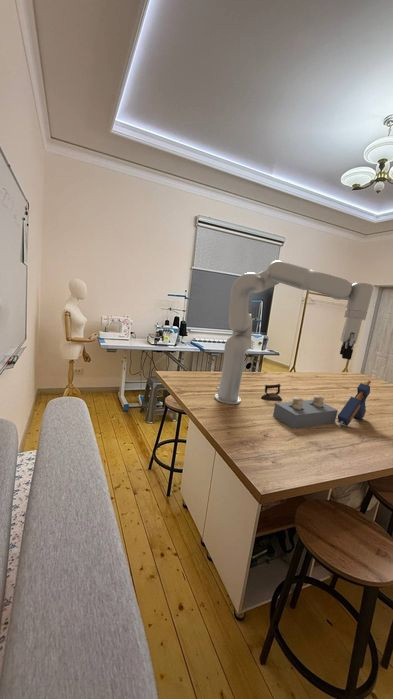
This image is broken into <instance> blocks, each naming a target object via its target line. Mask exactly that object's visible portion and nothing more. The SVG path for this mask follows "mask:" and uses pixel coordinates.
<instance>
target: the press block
mask: <svg viewBox="0 0 393 699" xmlns="http://www.w3.org/2000/svg"><path fill="white" fill-rule="evenodd" d="M312 401H313V399H310V400H309V399H307V400H306V399H305V400H304V402H303V406H302V410H298V411H296V410H295V409H293V408H291V405H292V401H284V402H276V403H275V404H274V409H273V413H272V417H274V418H276V419H277V420H279V421H280V422H281V423H283V424H285V425H286V426H288V427H290V428H291V429H293V430H295V429H300V428H308V427H313V426H321V425H327V424H333V423H336V418H337V416H338V411H339V410H338V409H337V408H334V407H332V406H330V405H329V404H327V403H324V402H323V406H322V408H316V407H314V406H312Z"/></svg>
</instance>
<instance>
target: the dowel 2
mask: <svg viewBox="0 0 393 699" xmlns="http://www.w3.org/2000/svg"><path fill="white" fill-rule="evenodd" d="M312 400H313V401H312V406H314V407H316V408H322V406H323V403H324V400H325V398H324V397H323V396H321V395H315V394H314V395H313V398H312Z"/></svg>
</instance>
